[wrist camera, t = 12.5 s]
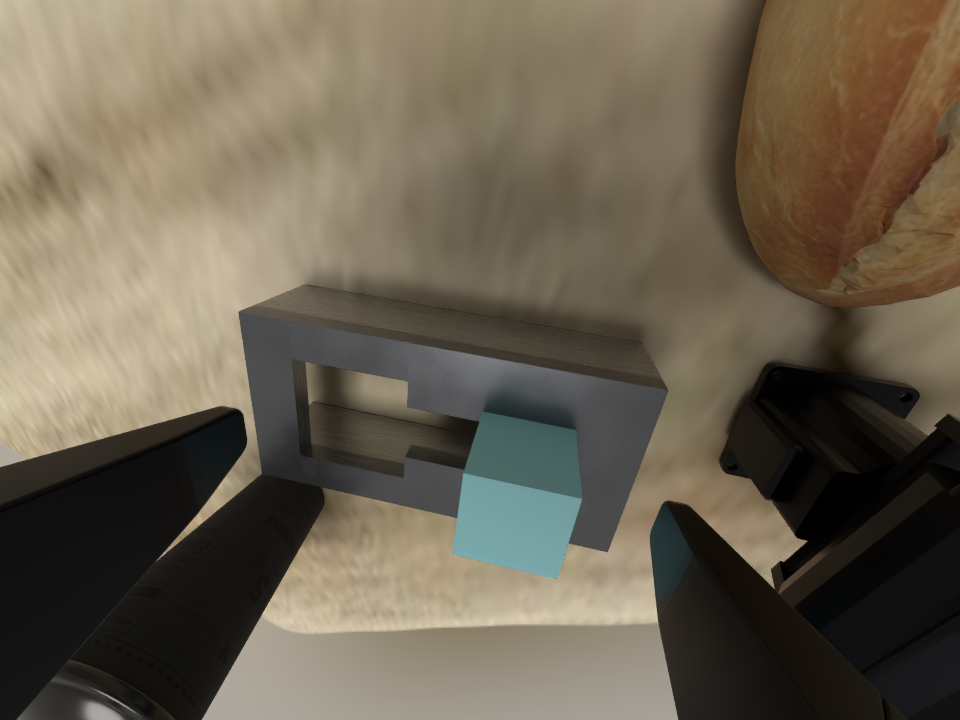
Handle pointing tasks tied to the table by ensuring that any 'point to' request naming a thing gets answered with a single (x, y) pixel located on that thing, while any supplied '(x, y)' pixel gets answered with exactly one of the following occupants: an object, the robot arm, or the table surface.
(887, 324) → the table surface
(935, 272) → the bread roll
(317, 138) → the table surface
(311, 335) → the keyhole plate
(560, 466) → the peg
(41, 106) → the table surface
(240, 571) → the drinking cup
